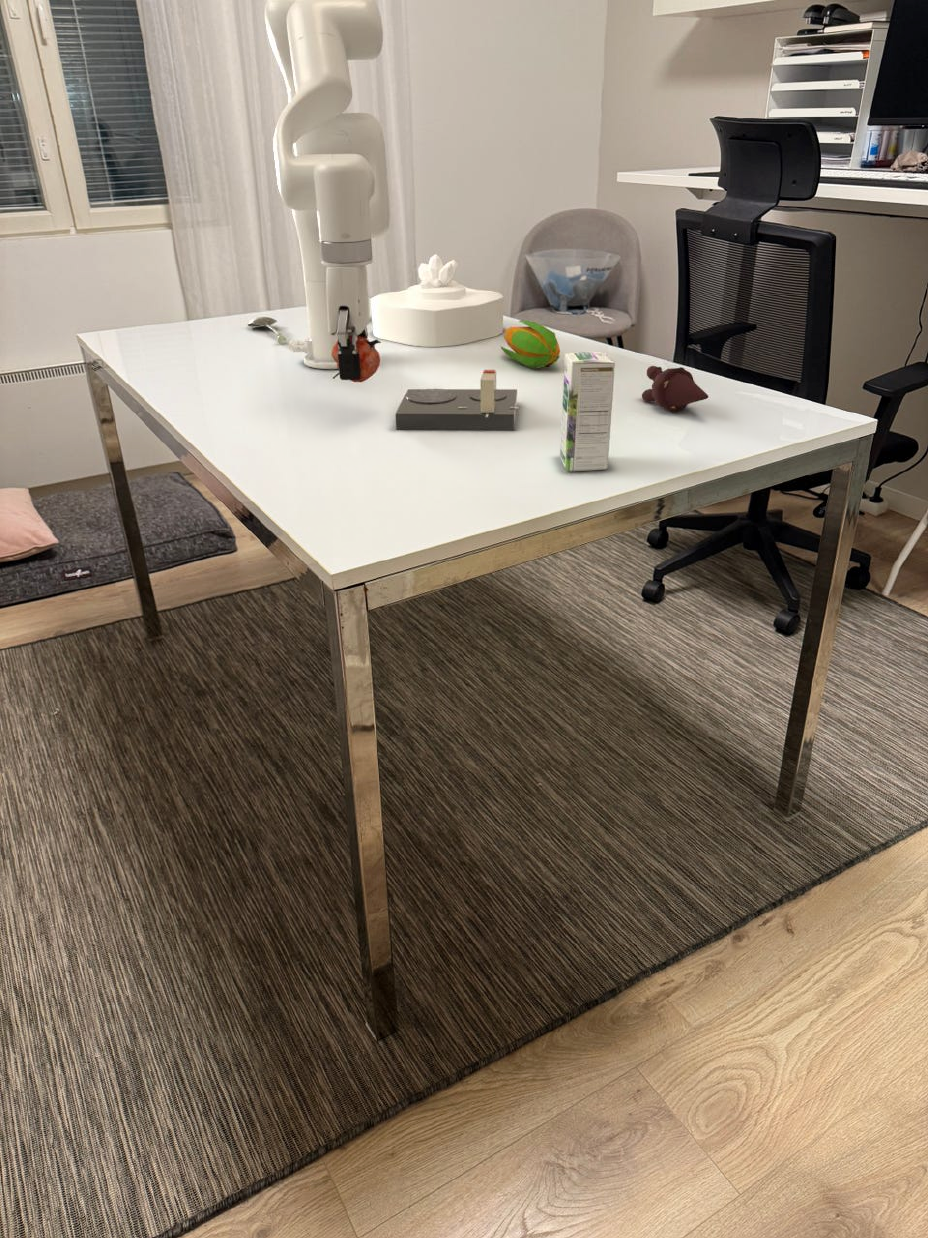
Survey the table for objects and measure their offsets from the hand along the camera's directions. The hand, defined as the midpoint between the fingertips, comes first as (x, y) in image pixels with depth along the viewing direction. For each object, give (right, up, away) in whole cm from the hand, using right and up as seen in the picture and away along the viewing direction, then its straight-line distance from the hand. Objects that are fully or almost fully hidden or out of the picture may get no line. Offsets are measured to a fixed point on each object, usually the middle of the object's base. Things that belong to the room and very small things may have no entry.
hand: (355, 371), depth 145 cm
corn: (+29, +10, +32) cm, 45 cm away
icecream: (+50, -6, +2) cm, 51 cm away
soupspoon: (-26, +24, +59) cm, 68 cm away
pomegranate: (0, -1, +1) cm, 2 cm away
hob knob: (+21, -7, -4) cm, 22 cm away
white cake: (+11, +24, +57) cm, 63 cm away
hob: (+16, -7, +2) cm, 18 cm away
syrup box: (+33, -18, -19) cm, 42 cm away
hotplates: (+16, -3, +3) cm, 16 cm away
